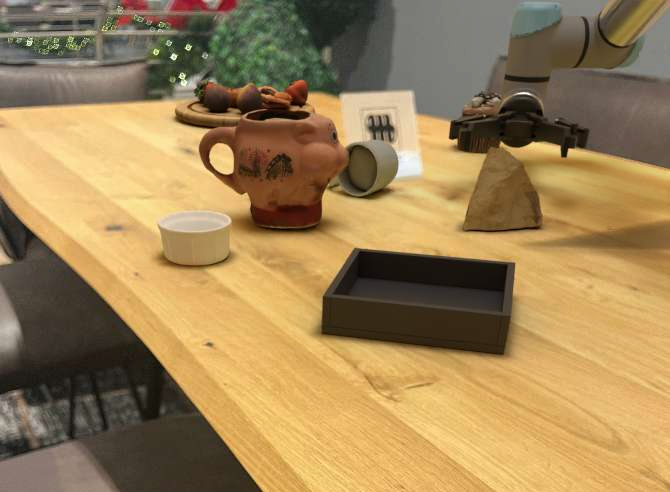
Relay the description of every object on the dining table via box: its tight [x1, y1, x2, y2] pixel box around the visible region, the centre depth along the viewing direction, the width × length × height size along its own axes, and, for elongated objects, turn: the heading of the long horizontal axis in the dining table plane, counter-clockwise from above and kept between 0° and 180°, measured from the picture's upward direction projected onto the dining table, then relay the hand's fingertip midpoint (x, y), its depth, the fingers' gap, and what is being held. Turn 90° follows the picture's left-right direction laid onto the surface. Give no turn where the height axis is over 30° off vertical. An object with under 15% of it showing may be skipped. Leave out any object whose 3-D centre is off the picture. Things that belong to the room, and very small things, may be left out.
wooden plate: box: [174, 78, 316, 128], centre depth 173 cm, size 32×32×8 cm
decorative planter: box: [198, 109, 349, 229], centre depth 102 cm, size 20×12×14 cm, turn 91°
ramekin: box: [157, 210, 232, 267], centre depth 93 cm, size 9×9×4 cm
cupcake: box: [456, 90, 502, 154], centre depth 147 cm, size 10×10×10 cm
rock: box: [462, 147, 543, 232], centre depth 103 cm, size 11×9×10 cm
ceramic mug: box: [328, 139, 400, 198], centre depth 119 cm, size 11×8×8 cm
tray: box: [321, 247, 516, 355], centre depth 78 cm, size 18×16×4 cm
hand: (516, 144), depth 108 cm, fingers open, 13 cm apart
